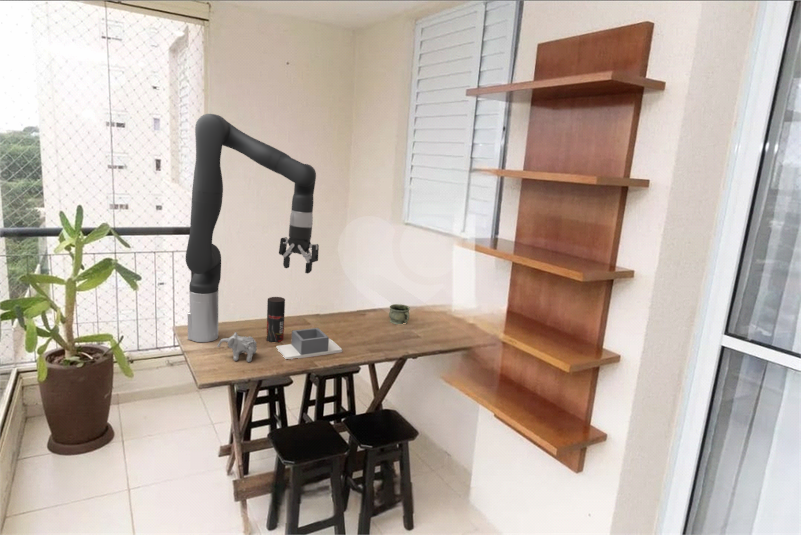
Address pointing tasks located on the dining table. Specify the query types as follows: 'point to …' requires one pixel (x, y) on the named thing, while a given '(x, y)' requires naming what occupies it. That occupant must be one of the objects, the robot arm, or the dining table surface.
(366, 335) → the dining table surface
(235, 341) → the gray elephant figurine
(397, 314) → the vessel
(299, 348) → the socket stand
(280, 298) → the deodorant
